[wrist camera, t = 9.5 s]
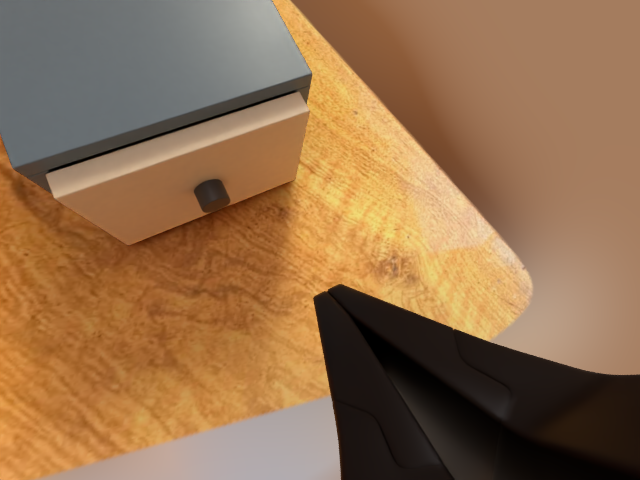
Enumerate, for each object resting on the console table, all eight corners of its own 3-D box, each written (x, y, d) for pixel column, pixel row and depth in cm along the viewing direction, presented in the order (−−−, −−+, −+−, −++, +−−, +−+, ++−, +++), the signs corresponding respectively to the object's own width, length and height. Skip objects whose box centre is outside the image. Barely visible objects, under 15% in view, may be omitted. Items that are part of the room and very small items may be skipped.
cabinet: (294, 167, 25) (313, 73, 16) (116, 236, 22) (11, 168, 13) (215, 12, 27) (191, -148, 18) (43, 54, 24) (-89, -114, 15)
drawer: (303, 194, 24) (321, 131, 16) (134, 263, 21) (63, 226, 13) (218, 27, 26) (200, -95, 19) (56, 68, 23) (-42, -55, 16)
